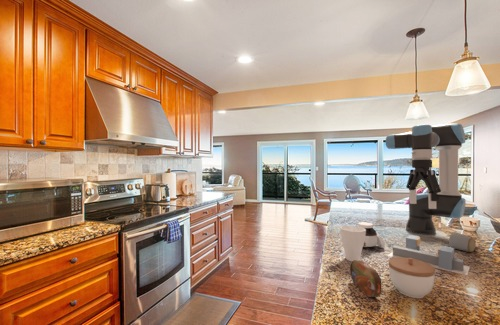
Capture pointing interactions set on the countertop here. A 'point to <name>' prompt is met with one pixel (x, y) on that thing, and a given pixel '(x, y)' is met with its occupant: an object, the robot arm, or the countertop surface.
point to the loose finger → (413, 242)
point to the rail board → (429, 259)
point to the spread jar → (371, 236)
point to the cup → (353, 241)
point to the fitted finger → (445, 257)
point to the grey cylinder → (462, 242)
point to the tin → (365, 278)
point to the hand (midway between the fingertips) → (422, 206)
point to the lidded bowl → (411, 276)
